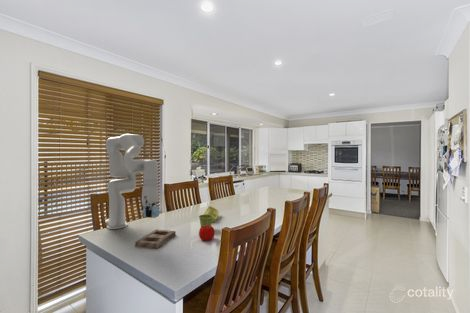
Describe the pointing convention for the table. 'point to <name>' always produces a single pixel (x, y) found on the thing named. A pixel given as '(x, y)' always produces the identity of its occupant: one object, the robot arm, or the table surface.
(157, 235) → the tray
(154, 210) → the light blue drawer box
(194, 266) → the table surface
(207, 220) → the plant pot
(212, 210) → the plastic component
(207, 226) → the tomato
